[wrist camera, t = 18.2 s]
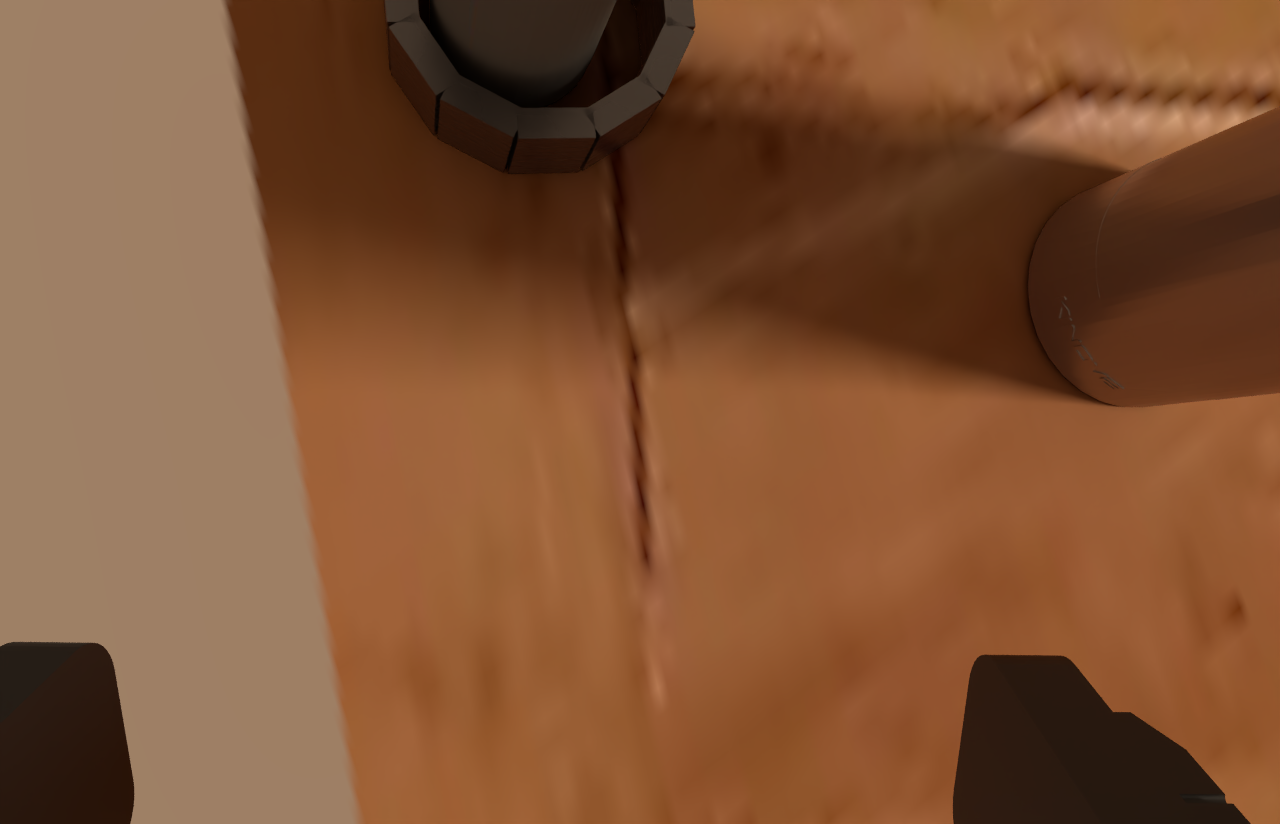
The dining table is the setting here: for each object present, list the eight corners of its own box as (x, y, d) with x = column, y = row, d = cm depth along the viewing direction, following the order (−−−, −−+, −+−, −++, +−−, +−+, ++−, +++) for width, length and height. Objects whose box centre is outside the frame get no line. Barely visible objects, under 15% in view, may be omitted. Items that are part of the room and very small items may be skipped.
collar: (563, -145, 35) (579, -213, 31) (716, 86, 36) (748, 43, 32) (327, -19, 32) (317, -78, 29) (496, 225, 33) (505, 195, 30)
